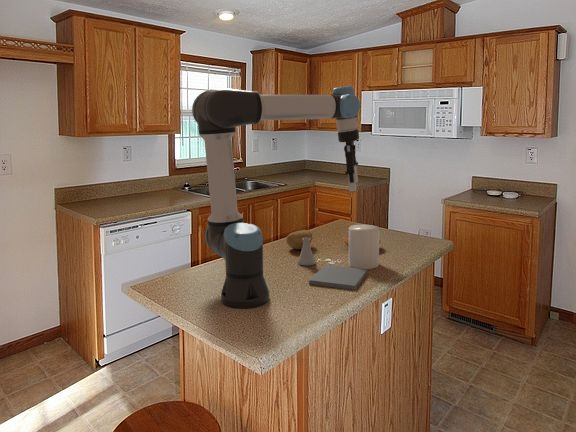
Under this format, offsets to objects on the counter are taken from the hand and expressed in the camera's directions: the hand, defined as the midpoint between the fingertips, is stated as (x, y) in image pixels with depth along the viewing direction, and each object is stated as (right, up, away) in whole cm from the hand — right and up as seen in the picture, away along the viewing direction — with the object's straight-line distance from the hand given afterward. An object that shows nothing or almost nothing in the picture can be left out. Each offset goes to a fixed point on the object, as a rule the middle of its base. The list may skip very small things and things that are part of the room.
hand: (353, 186), depth 182 cm
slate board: (-7, -33, -11) cm, 36 cm away
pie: (+7, -25, +26) cm, 37 cm away
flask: (-17, -30, +7) cm, 35 cm away
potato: (-19, -25, +28) cm, 42 cm away
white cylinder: (+4, -30, +4) cm, 30 cm away
